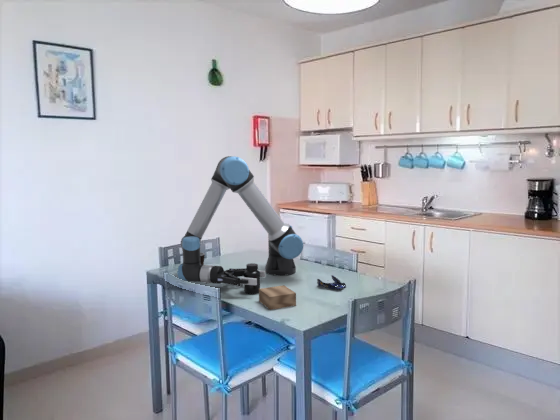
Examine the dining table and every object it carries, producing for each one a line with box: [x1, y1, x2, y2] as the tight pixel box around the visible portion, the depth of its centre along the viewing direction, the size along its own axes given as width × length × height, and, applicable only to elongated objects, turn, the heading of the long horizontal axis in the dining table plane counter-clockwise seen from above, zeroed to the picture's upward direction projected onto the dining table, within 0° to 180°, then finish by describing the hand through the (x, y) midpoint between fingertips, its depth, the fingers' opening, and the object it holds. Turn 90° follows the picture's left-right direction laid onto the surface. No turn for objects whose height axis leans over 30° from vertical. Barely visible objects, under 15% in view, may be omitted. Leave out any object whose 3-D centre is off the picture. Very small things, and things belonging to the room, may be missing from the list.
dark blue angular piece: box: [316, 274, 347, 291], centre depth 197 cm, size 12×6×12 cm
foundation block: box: [258, 285, 297, 311], centre depth 177 cm, size 11×11×5 cm
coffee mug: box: [200, 251, 206, 265], centre depth 219 cm, size 12×9×10 cm
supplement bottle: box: [243, 262, 261, 295], centre depth 191 cm, size 7×7×12 cm
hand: (260, 277), depth 189 cm, fingers open, 11 cm apart
